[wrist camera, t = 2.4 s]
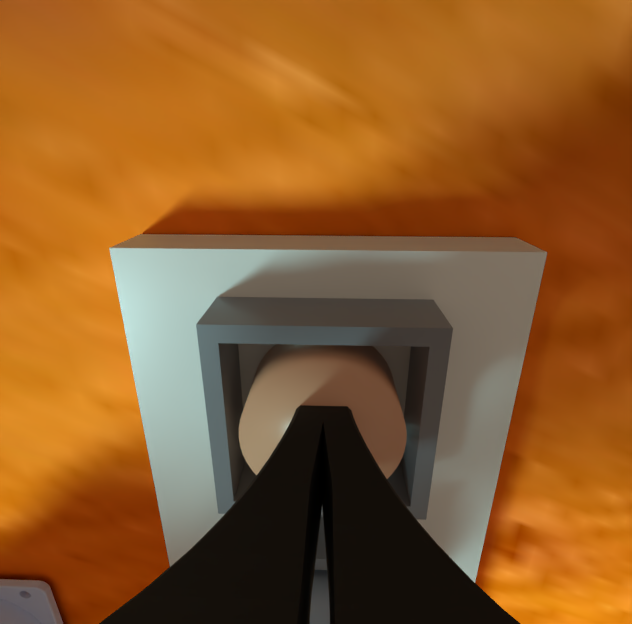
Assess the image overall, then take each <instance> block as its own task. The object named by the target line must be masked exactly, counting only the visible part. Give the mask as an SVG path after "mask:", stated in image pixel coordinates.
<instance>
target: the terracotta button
mask: <svg viewBox="0 0 632 624" xmlns="http://www.w3.org/2000/svg"><path fill="white" fill-rule="evenodd" d="M300 405H308V406H348V407H349V408H350V409H351V411H352V414H353V417H354V420H355V422H356V425H357V427H358V429H359V431H360V433H361V435H362V437H363V439H364V441H365V443H366V445H367V447H368V449H369V450H370V452H371V454H372V456H373V457H374V459H375V461H376V463H377V464H378V466H379V468H380V469H381V471H382V472H383V474H384V476H385V477H386V479H388V478H389V477H390V476H391V475H392V473H393V472H394V471H395V469H396V468H397V467H398V465H399V463H400V461H401V459H402V457H403V454H404V451H405V447H406V440H407V431H406V424H405V420H404V416H403V413H402V409H401V405H400V402H399V398H398V395H397V391H396V387H395V384H394V380H393V377H392V373H391V370H390V368H389V366H388V364H387V362H386V361H385V359H384V358H383V356H382V355H381V354H380V353H379V352H378V351H377V349H375V348H374V347H373V346H354V345H294V344H276V345H274V346H273V347H272V348H271V349H270V350H269V351H268V352H267V353H266V354H265V356H264V357H263V359H262V360H261V362H260V364H259V366H258V368H257V370H256V373H255V376H254V379H253V382H252V385H251V388H250V391H249V394H248V397H247V400H246V403H245V406H244V409H243V412H242V415H241V418H240V423H239V442H240V447H241V450H242V453H243V456H244V458H245V460H246V462H247V464H248V465H249V467H250V468H251V469H252V471H253V472H254V473H255V474H256V475H257V474H258V473H259V471H260V470H261V469H262V467H263V466H264V465H265V463H266V462H267V460H268V459H269V457H270V456H271V454H272V453H273V451H274V449H275V448H276V446H277V445H278V443H279V442H280V440H281V438H282V437H283V435H284V433H285V431H286V429H287V428H288V426H289V424H290V422H291V420H292V418H293V416H294V413H295V411H296V409H297V408H298V407H299V406H300Z"/></svg>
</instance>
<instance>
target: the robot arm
mask: <svg viewBox="0 0 632 624" xmlns="http://www.w3.org/2000/svg"><path fill="white" fill-rule="evenodd" d="M322 507H323V521H324V535H325V548H326V562H327V575H328V589H329V609H330V624H520V623H519V622H518V621H516V620H515V619H514V618H513V617H512V616H510V615H509V614H508V613H507V612H506V611H504V610H503V609H502V608H501V607H500V606H499V605H498V604H497V603H496V602H495V601H494V600H493V599H491V598H490V597H489V596H488V595H487V594H486V593H485V592H484V591H483V590H482V589H481V588H480V587H479V586H478V585H477V584H475V583H474V582H473V581H472V580H471V579H470V578H469V576H468V575H467V574H466V573H465V572H464V571H463V570H462V569H461V568H460V567H459V566H458V565H457V564H456V563H455V562H454V561H453V560H452V559H451V558H450V557H449V556H448V555H447V554H446V553H445V552H444V550H443V549H442V548H441V547H440V546H439V545H438V544H437V543H436V542H435V541H434V540H433V538H432V537H431V536H430V535H429V534H428V533H427V531H426V530H425V529H424V528H423V527H422V526H421V524H420V523H419V522H418V521H417V520H416V518H415V517H414V516H413V514H412V513H411V512H410V511H409V509H408V508H407V507H406V506H405V504H404V503H403V502H402V500H401V499H400V497H399V496H398V495H397V493H396V492H395V490H394V489H393V487H392V486H391V484H390V483H389V482H388V480H387V479H386V477H385V476H384V474H383V472H382V471H381V469H380V468H379V466H378V464H377V463H376V461H375V459H374V457H373V456H372V454H371V452H370V450H369V449H368V447H367V445H366V443H365V441H364V439H363V437H362V435H361V433H360V431H359V429H358V427H357V425H356V422H355V420H354V417H353V414H352V411H351V409H350V408H349V407H348V406H308V405H300V406H299V407H298V408H297V409H296V411H295V413H294V416H293V418H292V420H291V422H290V424H289V426H288V428H287V429H286V431H285V433H284V435H283V437H282V438H281V440H280V442H279V443H278V445H277V446H276V448H275V449H274V451H273V453H272V454H271V456H270V457H269V459H268V460H267V462H266V463H265V465H264V466H263V467H262V469H261V470H260V471H259V473H258V474H257V476H256V477H255V478H254V480H253V481H252V482H251V484H250V485H249V486H248V487H247V489H246V490H245V491H244V492H243V494H242V495H241V496H240V497H239V498H238V500H237V501H236V502H235V503H234V504H233V505H232V507H231V508H230V509H229V510H228V511H227V512H226V513H225V514H224V516H223V517H222V518H221V519H220V520H219V521H218V522H217V523H216V524H215V525H214V526H213V527H212V528H211V529H210V530H209V531H208V532H207V533H206V534H205V535H204V536H203V537H202V538H201V539H200V540H199V541H198V542H197V543H196V544H195V545H194V546H193V547H192V548H191V549H190V550H189V551H188V552H187V553H185V554H184V555H183V556H182V557H181V558H180V559H179V560H177V561H176V562H175V563H174V564H173V565H172V566H171V567H169V568H168V569H167V570H166V571H165V572H164V573H163V574H161V575H160V576H159V577H158V578H157V579H156V580H155V581H153V582H152V583H151V584H150V585H149V586H147V587H146V588H145V589H144V590H143V591H141V592H140V593H139V594H138V595H136V596H135V597H134V598H132V599H131V600H130V601H128V602H127V603H126V604H124V605H123V606H122V607H120V608H119V609H118V610H116V611H115V612H114V613H112V614H111V615H110V616H109V617H107V618H106V619H105V620H103V621H102V622H101V623H99V624H310V608H311V596H312V587H313V579H314V570H315V562H316V554H317V545H318V537H319V528H320V520H321V511H322ZM0 624H63V621H62V619H61V616H60V613H59V610H58V607H57V605H56V602H55V599H54V596H53V593H52V591H51V588H50V586H49V584H47V583H46V582H44V581H40V580H15V579H0Z"/></svg>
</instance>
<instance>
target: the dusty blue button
mask: <svg viewBox="0 0 632 624" xmlns="http://www.w3.org/2000/svg"><path fill="white" fill-rule="evenodd" d="M310 624H330V609H329V589H328V575H327V570H314V579H313V587H312V596H311V608H310Z"/></svg>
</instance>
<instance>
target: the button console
mask: <svg viewBox="0 0 632 624" xmlns="http://www.w3.org/2000/svg"><path fill="white" fill-rule="evenodd" d="M110 254H111V259H112V264H113V269H114V275H115V280H116V285H117V291H118V296H119V301H120V306H121V312H122V317H123V322H124V327H125V333H126V338H127V343H128V348H129V354H130V359H131V364H132V370H133V375H134V380H135V385H136V391H137V396H138V401H139V406H140V412H141V417H142V422H143V427H144V433H145V438H146V443H147V449H148V454H149V459H150V464H151V470H152V475H153V480H154V485H155V491H156V496H157V501H158V506H159V512H160V517H161V522H162V528H163V533H164V538H165V543H166V549H167V554H168V559H169V564H170V567H171V566H172V565H173V564H174V563H175V562H176V561H177V560H179V559H180V558H181V557H182V556H183V555H184V554H185V553H187V552H188V551H189V550H190V549H191V548H192V547H193V546H194V545H195V544H196V543H197V542H198V541H199V540H200V539H201V538H202V537H203V536H204V535H205V534H206V533H207V532H208V531H209V530H210V529H211V528H212V527H213V526H214V525H215V524H216V523H217V522H218V521H219V520H220V519H221V518H222V517H223V516H224V514H225V513H226V512H227V511H228V510H229V509H230V508H231V507H232V505H233V504H234V503H235V502H236V501H237V500H238V498H239V497H240V496H241V495H242V494H243V492H244V491H245V490H246V489H247V487H248V486H249V485H250V484H251V482H252V481H253V480H254V478H255V477H256V476H257V475H256V474H255V473H254V472H253V471H252V469H251V468H250V467H249V465H248V464H247V462H246V460H245V458H244V456H243V453H242V450H241V447H240V442H239V423H240V418H241V415H242V412H243V409H244V406H245V403H246V400H247V397H248V394H249V391H250V388H251V385H252V382H253V379H254V376H255V373H256V370H257V368H258V366H259V364H260V362H261V360H262V359H263V357H264V356H265V354H266V353H267V352H268V351H269V350H270V349H271V348H272V347H273V346H274V345H276V344H294V345H354V346H373V347H374V348H375V349H377V351H378V352H379V353H380V354H381V355H382V356H383V358H384V359H385V361H386V362H387V364H388V366H389V368H390V370H391V373H392V377H393V380H394V384H395V387H396V391H397V395H398V398H399V402H400V405H401V409H402V413H403V416H404V420H405V424H406V431H407V440H406V447H405V451H404V454H403V457H402V459H401V461H400V463H399V465H398V467H397V468H396V469H395V471H394V472H393V473H392V475H391V476H390V477H389V478H388V479H387V480H388V482H389V483H390V484H391V486H392V487H393V489H394V490H395V492H396V493H397V495H398V496H399V497H400V499H401V500H402V502H403V503H404V504H405V506H406V507H407V508H408V509H409V511H410V512H411V513H412V514H413V516H414V517H415V518H416V520H417V521H418V522H419V523H420V524H421V526H422V527H423V528H424V529H425V530H426V531H427V533H428V534H429V535H430V536H431V537H432V538H433V540H434V541H435V542H436V543H437V544H438V545H439V546H440V547H441V548H442V549H443V550H444V552H445V553H446V554H447V555H448V556H449V557H450V558H451V559H452V560H453V561H454V562H455V563H456V564H457V565H458V566H459V567H460V568H461V569H462V570H463V571H464V572H465V573H466V574H467V575H468V576H469V578H470V579H471V580H472V581H473V582H474V583H475V581H476V576H477V571H478V567H479V562H480V558H481V553H482V549H483V544H484V540H485V535H486V530H487V526H488V521H489V517H490V512H491V508H492V503H493V498H494V494H495V489H496V485H497V480H498V476H499V471H500V466H501V462H502V457H503V453H504V448H505V444H506V439H507V434H508V430H509V425H510V421H511V416H512V412H513V407H514V402H515V398H516V393H517V389H518V384H519V380H520V375H521V370H522V366H523V361H524V357H525V352H526V348H527V343H528V338H529V334H530V329H531V325H532V320H533V316H534V311H535V307H536V302H537V297H538V293H539V288H540V284H541V279H542V275H543V270H544V265H545V261H546V256H547V252H546V251H544V250H541V249H539V248H537V247H535V246H533V245H531V244H529V243H527V242H525V241H522V240H520V239H518V238H516V237H418V236H304V235H191V234H140V235H137V236H135V237H133V238H131V239H128V240H126V241H124V242H122V243H119V244H117V245H115V246H113V247H110ZM315 570H327V562H326V548H325V535H324V521H323V507H322V511H321V520H320V528H319V537H318V545H317V554H316V562H315Z"/></svg>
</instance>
